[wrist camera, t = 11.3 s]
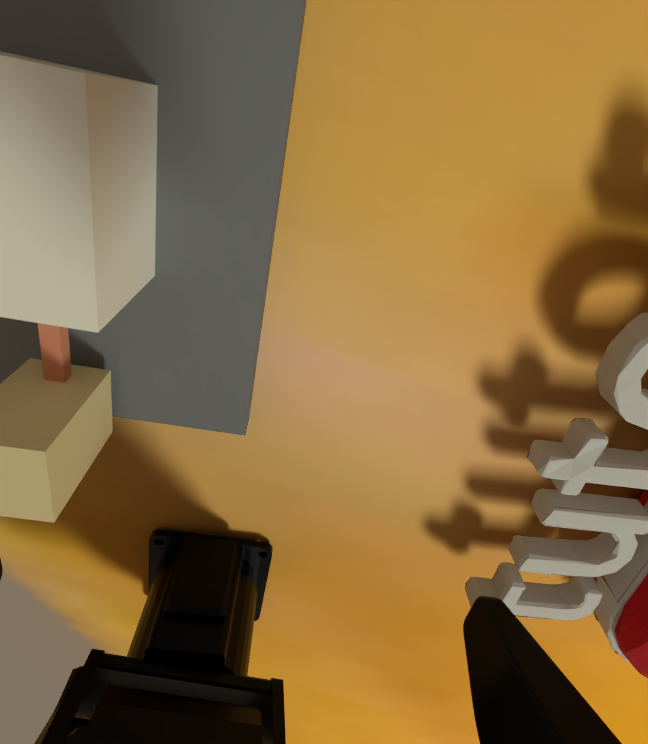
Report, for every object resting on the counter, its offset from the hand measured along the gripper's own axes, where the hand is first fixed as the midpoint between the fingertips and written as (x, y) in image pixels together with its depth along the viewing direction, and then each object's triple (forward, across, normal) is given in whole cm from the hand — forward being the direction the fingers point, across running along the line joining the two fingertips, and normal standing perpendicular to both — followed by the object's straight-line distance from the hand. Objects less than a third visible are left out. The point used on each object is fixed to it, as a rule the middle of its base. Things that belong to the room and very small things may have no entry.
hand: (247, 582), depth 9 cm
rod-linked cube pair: (+11, +8, -1) cm, 13 cm away
